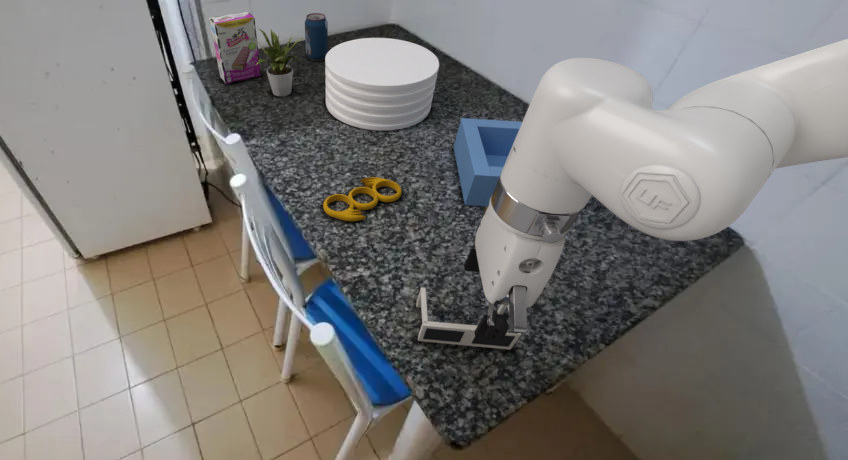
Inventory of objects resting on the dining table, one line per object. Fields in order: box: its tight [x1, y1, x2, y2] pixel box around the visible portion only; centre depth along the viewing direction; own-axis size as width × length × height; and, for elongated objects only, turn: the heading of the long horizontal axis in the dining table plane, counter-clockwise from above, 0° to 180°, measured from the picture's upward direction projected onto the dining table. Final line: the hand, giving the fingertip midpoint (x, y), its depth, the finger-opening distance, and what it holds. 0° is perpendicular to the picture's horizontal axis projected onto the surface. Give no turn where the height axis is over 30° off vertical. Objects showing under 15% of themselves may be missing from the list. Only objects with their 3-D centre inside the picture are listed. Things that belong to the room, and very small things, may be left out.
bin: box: [453, 117, 523, 207], centre depth 80 cm, size 20×20×8 cm
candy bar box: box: [208, 11, 262, 85], centre depth 108 cm, size 11×5×16 cm, turn 122°
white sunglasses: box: [415, 286, 522, 350], centre depth 57 cm, size 6×13×4 cm, turn 84°
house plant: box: [250, 27, 305, 97], centre depth 102 cm, size 14×14×16 cm
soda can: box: [304, 12, 329, 62], centre depth 120 cm, size 7×7×12 cm
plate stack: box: [324, 37, 440, 132], centre depth 100 cm, size 28×28×12 cm
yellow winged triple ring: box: [322, 176, 402, 222], centre depth 77 cm, size 17×2×10 cm
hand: (481, 300), depth 49 cm, fingers open, 9 cm apart
